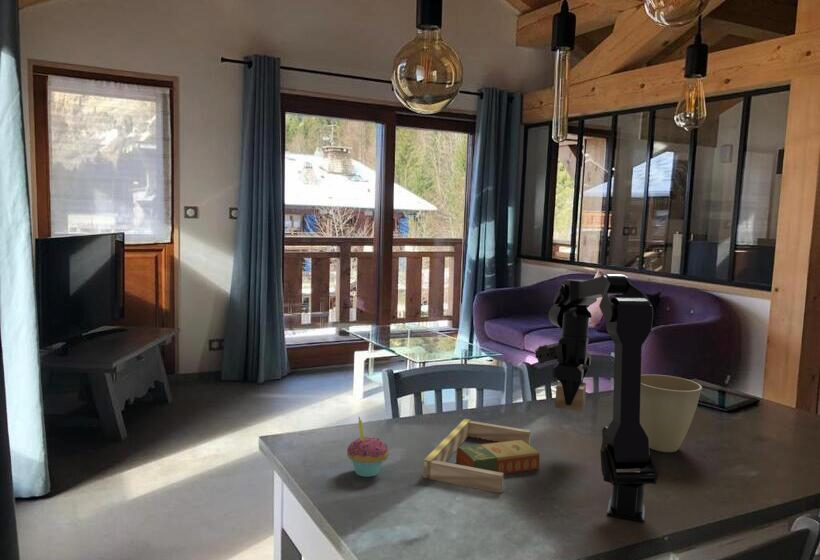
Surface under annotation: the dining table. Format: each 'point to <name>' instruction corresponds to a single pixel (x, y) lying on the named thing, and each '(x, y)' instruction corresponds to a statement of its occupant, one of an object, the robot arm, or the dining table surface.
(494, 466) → the carton
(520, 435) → the dock bay
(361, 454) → the cupcake
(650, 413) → the plant pot
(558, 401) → the cardboard box
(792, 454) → the dining table surface
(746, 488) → the dining table surface
